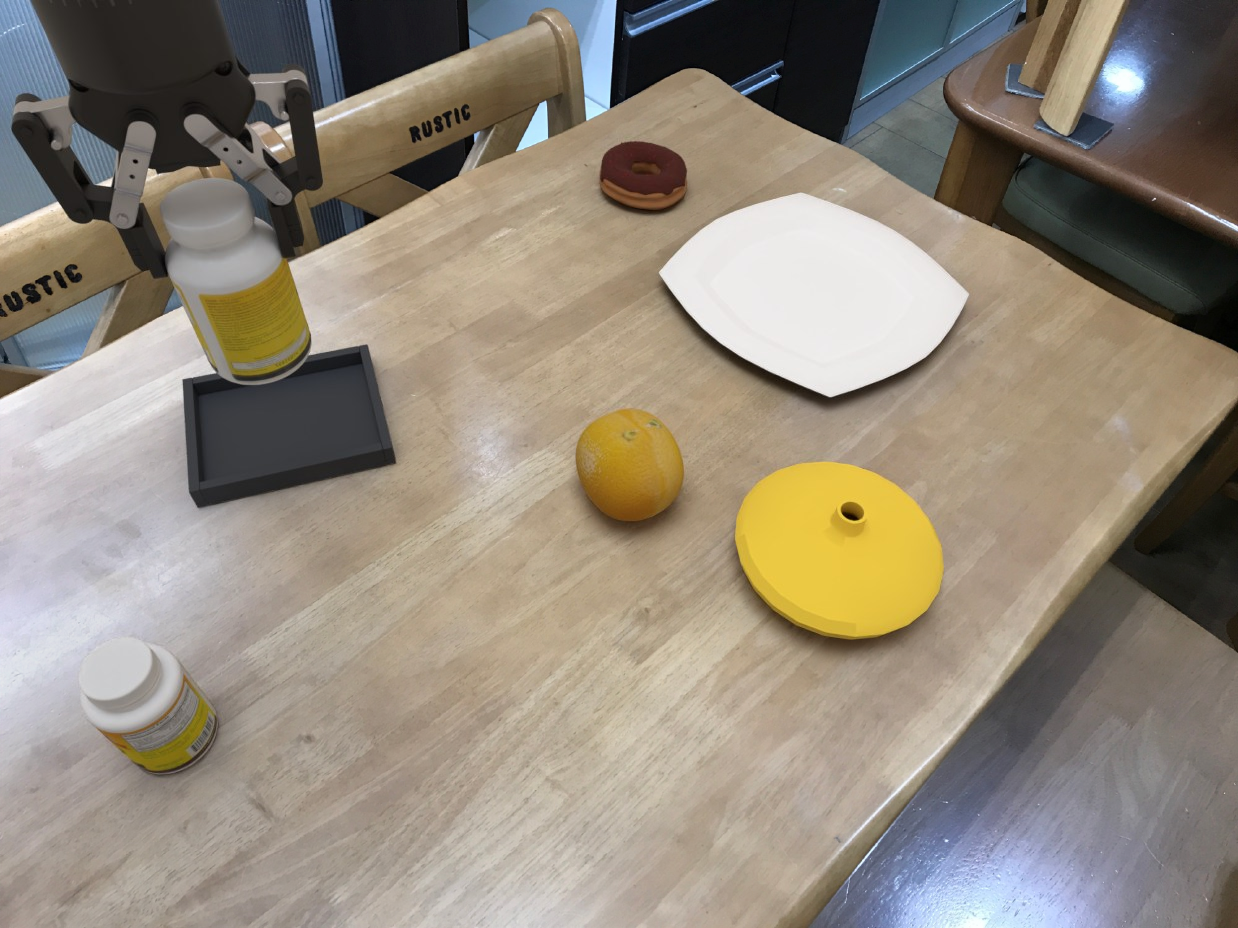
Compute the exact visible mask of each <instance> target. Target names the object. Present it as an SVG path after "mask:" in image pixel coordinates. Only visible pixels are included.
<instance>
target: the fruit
mask: <svg viewBox="0 0 1238 928" xmlns="http://www.w3.org/2000/svg"><path fill="white" fill-rule="evenodd" d="M575 468H576V472H577V475H578V479H579V482H580V484H581V486H582V488H583V490H584V492H585V494H586V495H587V496H588V498H589V499H590V500H591V502H592V503H593V504H594V506H596V508H598V510H600V511H601V512H602V513H603V514H605V515H606V516H608V517H610V518H612V519H614V520H618V521H622V522H639V521H644V520H647V519H650V518H652V517H654V516H656V515H658V514H660V513H662V512H663V511H664V510H665V509H667V508H668V507H669V506H670V505H671V504H672V503H673V502H674V501H675V500H676V498H677V497H678V495H679V494H680V492H681V489H682V487H683V484H684V478H685V465H684V460H683V456H682V453H681V449H680V447H679V444H678V442H677V440H676V438H675V437H674V435H673V433H672V432H671V430H669V428H668V427H667V426H666V425H665V424H664V423H663V422H662V421H661V420H660V418H658V417H657V416H656V415H654V414H652V413H650V412H648V411H645V410H643V409H638V408H622V409H617V410H615V411H612V412H609V413H607V414H604V415H602V416H600V417H598V418H596V419H595V420H593V421H592V422H590V423H589V425H587V426H586V427H585V428H584V429H583V431H582V432H581V433H580V435H579V437H578V440H577V443H576V448H575Z"/></svg>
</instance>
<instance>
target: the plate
mask: <svg viewBox="0 0 1238 928" xmlns="http://www.w3.org/2000/svg"><path fill="white" fill-rule="evenodd" d="M658 275H659V276H660V278H661V279H662V281H663V282H664V283H665V285H666V286H667V288H668V290H669V291H670V292H671V293H672V294H673V295H672V296H674V297H675V299H676V300H677V301H678V302H679V304H680V305H681V306H682V308H683V309H684V310H685V312H687V314H688V315H689V316H690V317H691V318H692V319H693V320H694V321H695V322H696V324H697V325H698V326H699V327H700V328H701V329H702V330H703V331H704V332H705V333H706V334H707V335H709V336H710V337H711V338H713V339H714V340H715V341H716V342H717V343H718V344H720V346H722V347H724V348H726V349H727V350H728V351H730V352H732V353H733V354H735V355H736V356H738V357H739V358H741V359H742V360H744V361H746V362H748V363H751V364H752V365H754V366H755V367H758V368H760V369H761V370H764V371H766V372H768V373H769V374H772V375H774V376H776V377H778V378H781V379H783V380H785V381H787V382H790V383H792V384H795V385H797V386H799V387H802V388H804V389H806V390H808V391H811V392H813V393H816V394H818V395H821V396H823V397H825V398H827V399H831V398H834V397H838V396H841V395H845V394H847V393H850V392H853V391H857V390H859V389H861V388H864V387H867V386H871V385H873V384H875V383H877V382H881V381H883V380H885V379H888V378H890V377H893V376H894V375H896V374H898V373H900V372H903V371H905V370H907V369H908V368H910V367H912V366H914V365H915V364H917V363H919V362H920V361H922V360H923V359H925V358H926V357H928V356H929V355H930V354H931V353H932V351H934V350H935V349H936V348H937V347H938V346H939V345H940V344H941V343H942V341H943V340H944V338H945V337H946V336H947V335H948V334H949V332H950V331H951V329H952V328H953V326H954V324H955V323H956V321H957V319H958V318H959V316H960V314H961V312H962V310H963V308H964V307H965V304H966V302H967V300H968V298H969V296H970V293H969V292H968V291H967V290H966V289H965V288H964V287H963V286H962V285H961V284H960V283H959V282H958V281H957V280H956V279H955V278H954V277H953V276H952V275H951V274H949V272H947V271H946V270H945V269H944V267H942V266H941V265H940V264H939V263H938V262H937V261H935V259H933V257H931V255H929V254H928V253H926V252H925V251H924V250H923V249H922V248H920V247H919V246H918V245H916V243H914V242H913V241H911V240H910V239H908V238H906V236H904V235H902V234H901V233H899V232H897V231H896V230H895V229H892V228H890V227H889V226H887V225H885V224H883V223H881V222H879V221H877V220H876V219H873V218H871V217H869V216H866V215H864V214H861V213H859V212H857V211H855V210H852V209H849V208H846V207H844V206H841V205H839V204H836V203H833V202H830V201H828V200H826V199H823V198H819V197H817V196H814V195H810V194H807V193H804V192H796V193H793V194H789V195H785V196H780V197H776V198H773V199H769V200H766V201H765V200H764V201H762V202H758V203H755V204H752V205H749V206H745V207H743V208H740V209H737V210H734V211H732V212H730V213H727V214H725V215H723V216H720V217H718V218H716V219H714V220H713V221H711V222H710V223H708V224H707V225H706V226H704V227H703V228H701V229H700V230H698V232H697V233H696V234H694V235H693V236H692V237H690V238H689V239H688V240H687V241H686V242H685V243H683V245H682V246H681V247H680V248H679V249H678V250H677V251H676V252H675V254H673V255H672V256H671V257H670V258H669V260H668V261H667V262H666V264H664V266H663V267H662V268H661V269H659V272H658Z"/></svg>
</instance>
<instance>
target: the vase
mask: <svg viewBox="0 0 1238 928" xmlns="http://www.w3.org/2000/svg"><path fill="white" fill-rule="evenodd" d="M939 539H940V538H939V536H938V533H937V532H936V530H935V527H934V525H933V523H932V522H931V520H930V519H929V518H928V516H927V514H926V513H925V512H924V511H923V509H922V508H921V507H920V506H919V504H918V502H916V501H915V500H914V499H913V498H912V497H911V496H909V495H908V494H907V493H906V492H905V491H904V490H902V489H901V487H899V486H898V485H897V484H896V483H894V482H893V481H890V480H888V479H887V478H885V477H883V476H882V475H880V474H878V473H876V472H874V471H871V470H868V469H865V468H861V467H859V466H857V465H853V464H849V463H841V462H834V461H813V462H799V463H796V464H792V465H790V466H787V467H783V468H780V469H777V470H775V471H773V472H772V473H771V474H769V475H767V476H765V477H764V478H762V479H760V480H759V481H758V482H757V483H756V484H755V485H754V486H753V487H752V489H750V491H749V492H748V493H747V494H746V495H745V496H744V498H743V501H742V503H741V506H740V508H739V510H738V513H737V514H736V519H735V533H734V541H735V546H736V549H737V553H738V557H739V562H740V565H741V567H742V570H743V572H744V574H745V576H746V577H747V579H748V581H749V583H750V585H751V587H752V588H753V590H754V592H755V593H757V595H758V596H759V597H760V598H761V599H762V600H763V601H764V602H765V603H766V604H767V605H768V606H769V608H771V609H772V610H773V611H774V612H776V614H779V615H780V616H781V617H783V618H785V619H786V620H788V621H789V622H790V623H792V624H794V625H795V626H797V627H800V628H802V629H804V630H808V631H810V632H812V633H815V634H817V635H820V636H825V637H830V638H839V639H842V640H843V639H844V640H860V639H872V638H878V637H881V636H884V635H886V634H889V633H891V632H894V631H897V630H899V629H902V628H904V627H906V626H909V625H910V624H911V623H913V622H914V621H915V620H916V619H918V618H919V617H920V616H922V615H923V614H924V613H926V612H927V611H928V609H929V608H930V606H931V604H932V603H933V601H934V600H935V598H936V597H937V595H938V593H940V589H941V584H942V580H943V574H944V571H945V565H944V555H943V548H942V547H943V546H942V544H941V540H939Z"/></svg>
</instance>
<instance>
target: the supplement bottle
mask: <svg viewBox="0 0 1238 928" xmlns="http://www.w3.org/2000/svg"><path fill="white" fill-rule="evenodd" d="M77 683H78V687H79V690H80V695H79V696H80V697H79V699H80V700H79V701H80V708H81V710H82V713H83V715H84V717H85V718H86V719H87V721H88V722H89V723H90V724H91V725H92V726H93V727H94V728H95V729H96V730H97V731H99V732H100V734H102V735H103V736H104V737H105V738H106V739H107V740H108V741H109V742H110V743H112V745H114V746H115V747H116V748H117V749H118V750H119V751H120V753H122V754H123V755H124V756H125V757H127V758H128V759H129V760H130V761H131V762H132V763H133V764H134V765H135V766H137V767H138V768H139V769H141V770H143V771H144V772H147V773H149V774H153V775H170V774H174V773H178V772H181V771H183V770H185V769H187V768H190V767H191V766H193V765H194V764H195V763H197V762H198V761H199V760H200V759H201V758H202V757H204V755H205V754H206V753H207V752H208V751H209V749H210V748H211V746H212V745H213V743H214V741H215V738H216V736H217V732H218V725H219V721H218V720H219V719H218V713H217V711H216V708H215V707H214V705H213V704H212V702H211V700H210V698H208V697H207V695H206V694H205V693H204V691H203V690H202V689H201V687H200V686H199V684H197V682H196V681H195V679H194V677H192V676H191V674H190V673H189V671H188V670H187V669H186V668H185V667H184V665H183V664H182V662H181V661H180V660H179V658H178V657H177V656H176V655H175V654H174V653H173V652H172V651H171V650H170V649H168V648H167V647H165V646H163V645H161V644H157V643H152V642H145V641H143V640H141V639H139V638H137V637H132V636H119V637H114V638H112V639H109V640H107V641H104V642H102V643H100V644H99V645H97V646H96V647H95V648H94V649H92V650H91V651H90V652H89V653H88V654H87V656H85V658H84V659H83V660H82V662H81V664H80V666H79V669H78V673H77Z"/></svg>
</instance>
